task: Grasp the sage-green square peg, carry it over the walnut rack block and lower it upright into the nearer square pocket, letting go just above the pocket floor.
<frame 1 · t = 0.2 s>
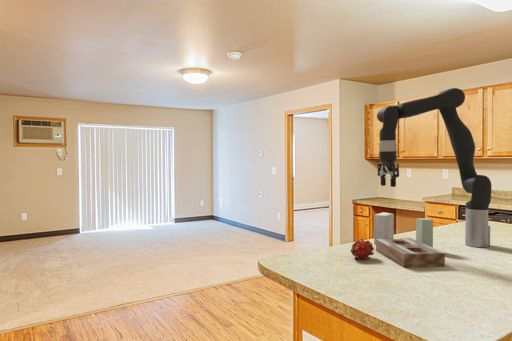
hand: (388, 186, 167), 29 cm above the countertop, fingers open, 8 cm apart
skincare box: (383, 244, 176), on the countertop
dragon fruit: (361, 259, 150), on the countertop
rack block: (407, 258, 151), on the countertop
square peg: (424, 250, 164), on the countertop
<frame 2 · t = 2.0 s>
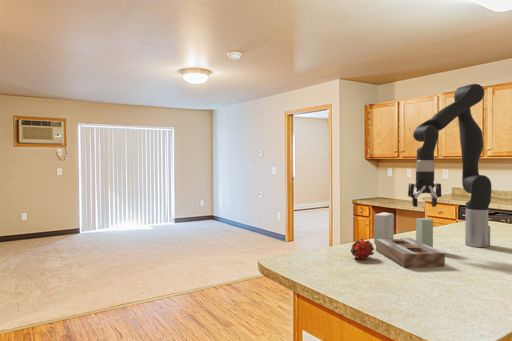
hand: (424, 206, 163), 20 cm above the countertop, fingers open, 8 cm apart
nothing on the countertop moved.
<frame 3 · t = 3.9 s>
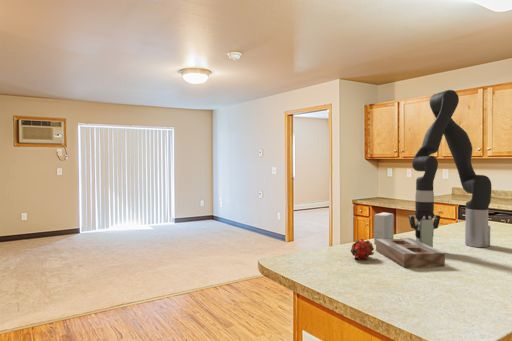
hand: (424, 238, 164), 5 cm above the countertop, fingers closed on square peg, 5 cm apart
square peg: (424, 250, 164), on the countertop, touching gripper
everything else where it was.
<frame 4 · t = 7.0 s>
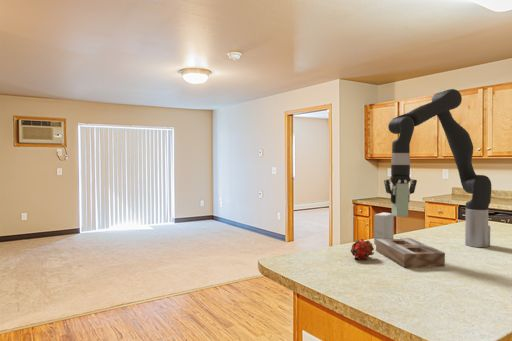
hand: (399, 203, 157), 22 cm above the countertop, fingers closed on square peg, 5 cm apart
square peg: (399, 215, 157), point 16 cm above the countertop, touching gripper
everything else where it was.
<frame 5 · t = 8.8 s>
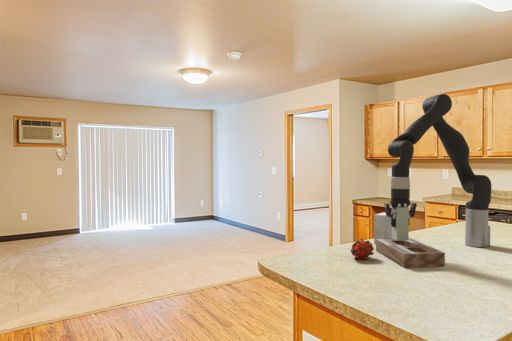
hand: (400, 226, 157), 12 cm above the countertop, fingers closed on square peg, 5 cm apart
square peg: (400, 239, 157), point 6 cm above the countertop, touching gripper
everything else where it was.
when the fingers open (8 cm above the countertop, at t = 10.1 s): square peg drops 1 cm, resting on rack block.
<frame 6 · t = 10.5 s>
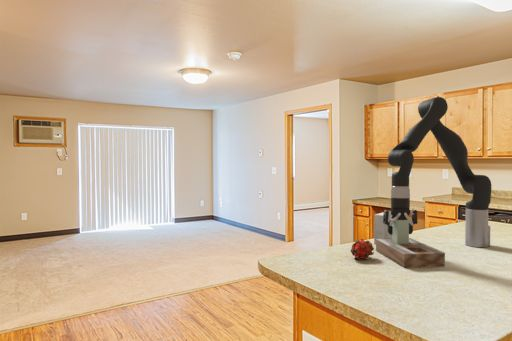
hand: (400, 234, 157), 9 cm above the countertop, fingers open, 8 cm apart
square peg: (400, 251, 157), point 1 cm above the countertop, touching rack block
everything else where it was.
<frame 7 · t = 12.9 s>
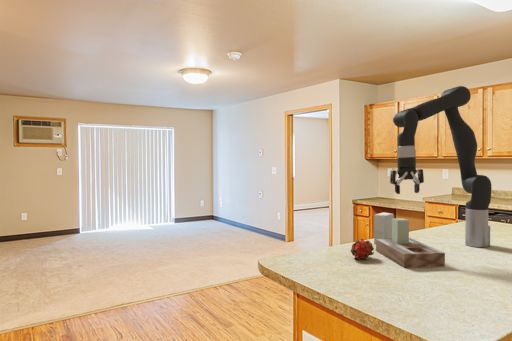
hand: (407, 193, 161), 26 cm above the countertop, fingers open, 8 cm apart
nothing on the countertop moved.
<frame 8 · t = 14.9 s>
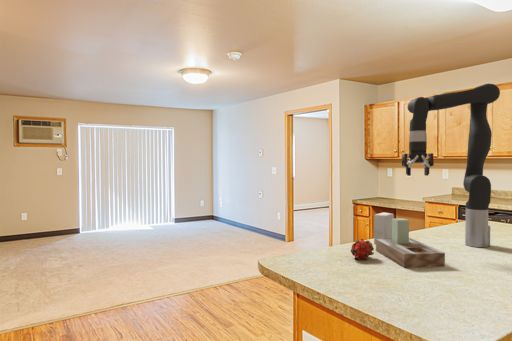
hand: (417, 175, 171), 33 cm above the countertop, fingers open, 8 cm apart
nothing on the countertop moved.
at the end: square peg 0.1 cm from the target spot on the rack block, point 1.0 cm above the rack block's base; square peg tilted 0°; the gripper is holding nothing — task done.
